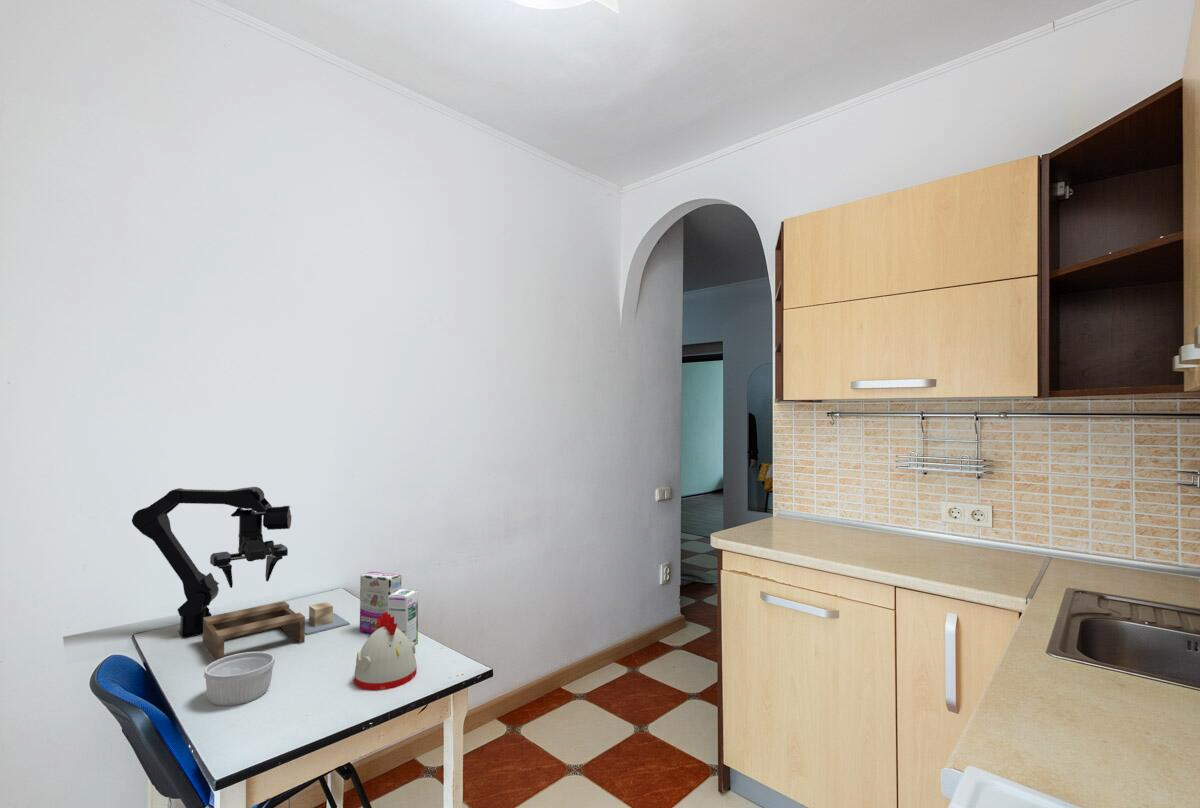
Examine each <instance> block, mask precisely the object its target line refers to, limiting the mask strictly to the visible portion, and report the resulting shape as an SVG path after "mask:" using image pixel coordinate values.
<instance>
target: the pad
mask: <svg viewBox="0 0 1200 808" xmlns="http://www.w3.org/2000/svg"><path fill="white" fill-rule="evenodd" d="M348 625H350V622H349V621H348V620H345V619H344V618H343V617H341V616H340V615H338V614H337V613H335V612H333V623H330V624H326V625H322V626H318V627H314V626H313V625H311V624H310V623H309V618H305V636H310V635H312V634H317V633H321V632H325V631H330V630H332V629H333V630H334V629H337V628H340V627H345V626H348Z"/></svg>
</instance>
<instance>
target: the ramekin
mask: <svg viewBox="0 0 1200 808" xmlns="http://www.w3.org/2000/svg"><path fill="white" fill-rule="evenodd" d="M275 659H276V658H275V656H274V654H272V653H270V652H266V651H247V652H241V653H240V652H239V653H235V654H230V655H228V656H224V658H221V659H219V660H216V661H215V660H214V661H212V662H211V663H209V664H208V665H207V666H206V667H205V668H204V672H203V677H204V680H205V686H206V695H207V698H208V700H209V701H210V702H211V703H212V704H213V705H215V706H221V707H228V706H237V705H242V704H245V703H249V702H252V701H253V700H254V701H255V700H256V699H258V698H260V697H261V696H263V695H264V694H265V693H266V692H267V691H268V689H269V688H270V686H271V681H272V676H273V668H274V665H275Z"/></svg>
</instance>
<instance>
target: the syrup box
mask: <svg viewBox="0 0 1200 808" xmlns="http://www.w3.org/2000/svg"><path fill="white" fill-rule="evenodd" d="M418 593H419V592H418V590H417V589H411V588H410V589H409V588H407V589H406V588H403V589H402V588H401V589H399V590H398V591H397V592H395V593H393V594H391V595H389V596H388V614H390V616H391V617H393V616H394V624H395V623H397V627H396V628H398V629H399V630H401V631H402V632H403V633H404V634H405V635H406V637H407V638H408V640H409V641H410V643H411V642H412V641H413V642H414V645H417V644H418V643H419V607H418V605H419V598H418V596H419V594H418Z"/></svg>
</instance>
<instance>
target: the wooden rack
mask: <svg viewBox="0 0 1200 808" xmlns="http://www.w3.org/2000/svg"><path fill="white" fill-rule="evenodd" d="M305 619H306V616H305V615H303V613H301V612H295V611H294V610H293V609H291V608H290V604H289V603H288V602H286V601H285V600H283V601H278V602H273V603H269V604H264V605H257V606H254V607H249V608H244V609H240V610H234V611H229V612H224V613H220V614H214V615H211V616H209V617H204V618H203V634H202V645H203V646H204V647H205V649H206V650H207V651H208V653H209V654H210V655H211V657H212V658H213V659H214V661H216V660H219V659H221V658H224V657H225V641H227V640H231V639H236V638H239V637H243V636H248V635H253V634H257V633H261V632H265V631H269V630H274V629H279V628H281V629H282V630H284V632H286V633H287V634H288V635H289V636H290V637H292V638H293V639H294V640H295V641H296V642H297V643H298V644H303V643H305V636H306V635H305Z"/></svg>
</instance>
